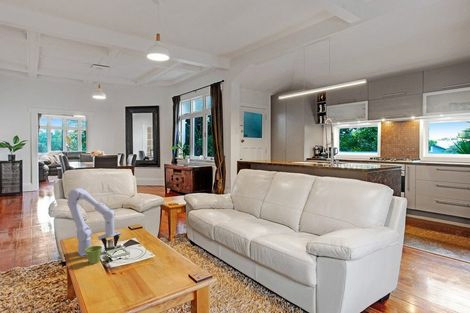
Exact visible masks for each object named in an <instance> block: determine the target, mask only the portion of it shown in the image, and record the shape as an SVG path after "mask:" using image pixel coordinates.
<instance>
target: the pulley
mask: <svg viewBox="0 0 470 313" xmlns="http://www.w3.org/2000/svg"><path fill="white" fill-rule="evenodd" d="M121 247H124V248H125V247H126V244H119V245H116V248H121ZM126 248H127V247H126Z"/></svg>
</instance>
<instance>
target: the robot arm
mask: <svg viewBox="0 0 470 313" xmlns="http://www.w3.org/2000/svg"><path fill="white" fill-rule="evenodd" d="M80 200H85V201H86V202H87V203H89V204H90V205H92V206H94V210H96V211H97V212H98V213H99V214H100V215H101V216H103V220H104V228H105V229H104V231H105V234H102V235H99V236H98V237H97V240H99V241H101V242H102V245H103V246H104V248H105V249H107V248H108V242H107V239H108V238H113V246H114V247H117V246H118V245H117V244H118V242H119V239H120V236H122V232H121V231H117V232H116V230H115V215H116V212H115V210H114V209H112V208H110V207H108V206H107V205H105V203H104V202H98V201H97V199H95V198H94V197H93V196H92V195H91V194H90V193H89V192H88V191H87V190H85V189H84V188H83V187H79V186H78V187H77V188H74V189H71V190H70V191H69V193H68V194H67V202H66V203H67V207H68V208H69V211H70V213H71V215H72V216H71V217H72V219H73V222H74V224H75V226H76V232H75V233H76V239H77V241H78V242H77V246H78V248H77V249H78V250H77V251H76V253H77V254H79V256H80V257H83V256H86V255H87V253H86V251H85V250H86V249H87V248H89V247H92V238H91V236H92V235H93V231H92V229H91V228H90V227H89V225H88V224H86V222H85V219H84V217H83V214H82V212H81V208H80V206H79V201H80ZM105 249H104V250H105ZM87 256H88V255H87Z"/></svg>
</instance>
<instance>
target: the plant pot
mask: <svg viewBox="0 0 470 313" xmlns="http://www.w3.org/2000/svg"><path fill="white" fill-rule="evenodd" d="M102 249H103V246H102V245H91V247H89V248H87V249H86V250H85V251H86V253H87V260H88V264H90V265H94V264H98V263H100V262H101V255H102V253H101V252H102Z"/></svg>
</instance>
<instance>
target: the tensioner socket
mask: <svg viewBox="0 0 470 313" xmlns="http://www.w3.org/2000/svg"><path fill="white" fill-rule="evenodd" d="M116 247H117V246H116ZM116 247H115V246H114V245H113V249H111V250H114V249H117V248H116ZM103 250H104V252H105V251H110V250H108V247H107V249H105V247H104V249H103Z"/></svg>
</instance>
